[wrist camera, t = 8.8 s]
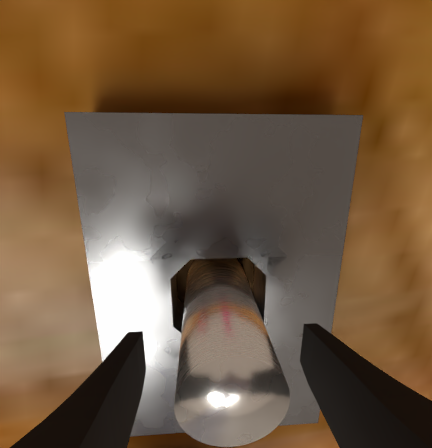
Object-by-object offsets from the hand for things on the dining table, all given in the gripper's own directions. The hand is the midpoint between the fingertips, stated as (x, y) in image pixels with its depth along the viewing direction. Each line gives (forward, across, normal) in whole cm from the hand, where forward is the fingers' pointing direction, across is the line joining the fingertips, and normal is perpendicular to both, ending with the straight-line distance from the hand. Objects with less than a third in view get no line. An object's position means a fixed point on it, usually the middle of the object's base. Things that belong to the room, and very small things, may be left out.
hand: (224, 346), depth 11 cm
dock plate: (+6, 0, 0) cm, 6 cm away
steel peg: (+6, 0, 0) cm, 6 cm away
